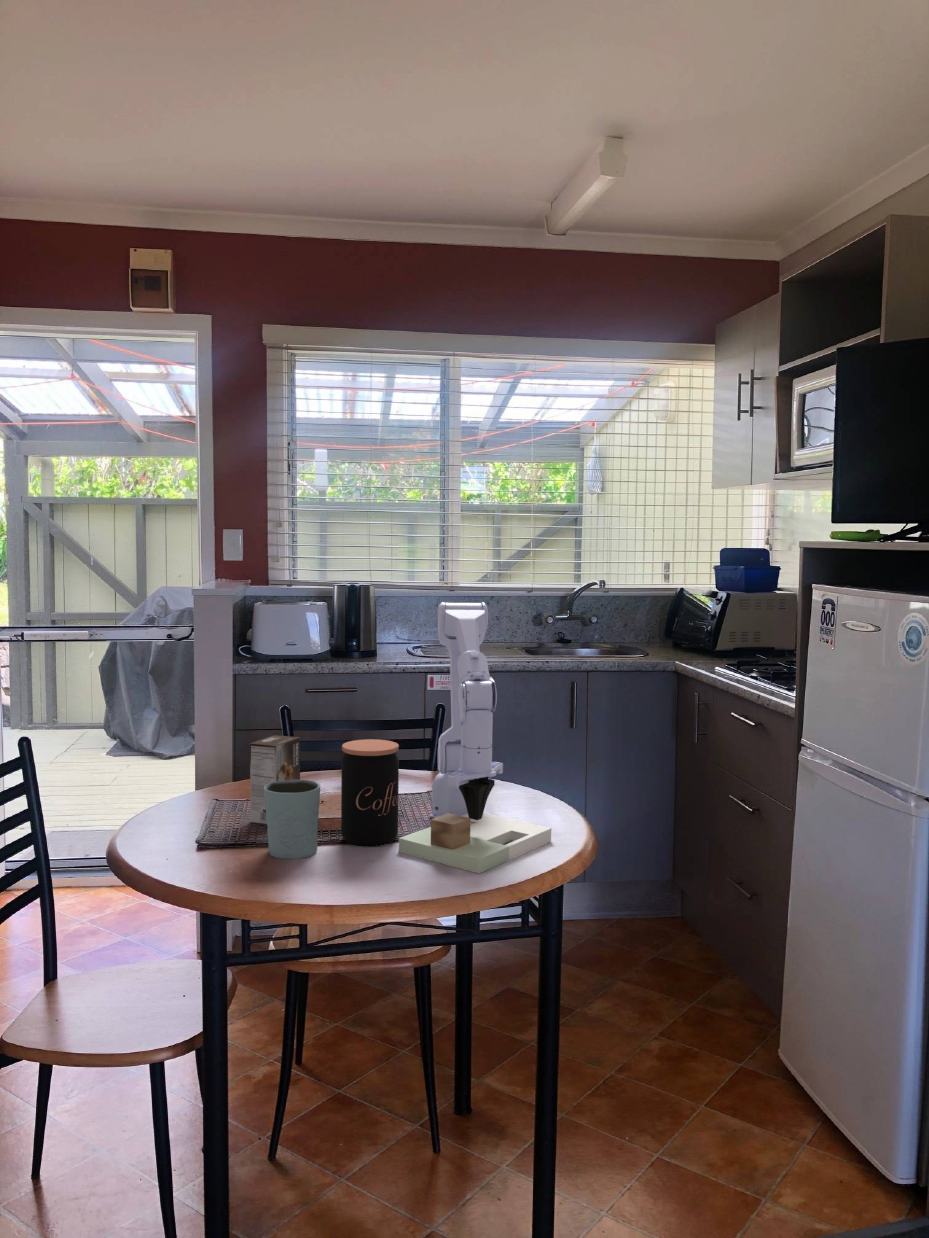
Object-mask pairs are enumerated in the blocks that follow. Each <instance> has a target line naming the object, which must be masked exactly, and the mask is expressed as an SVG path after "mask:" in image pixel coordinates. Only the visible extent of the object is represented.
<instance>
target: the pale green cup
mask: <svg viewBox="0 0 929 1238" xmlns="http://www.w3.org/2000/svg"><path fill="white" fill-rule="evenodd" d="M264 799H265V805H266V819H267V824H266V826H267V840H268V843H267V844H268V851H269V852H268V853H269V854H270V856H271V857H273V858H276V859H277V858H278V859H285V860H286V859H287V860H298V859H304V858H308V857H311V856H313V855H315V854H316V852H317V851H318V845H319V844H318V839H319V836H318V831H319V815H320V814H319V813H320V801H321V784H320V783H318V782H317V781H314V780H307V779H300V780H283V781H277V782H273V783H269V784H267V785H265V786H264Z"/></svg>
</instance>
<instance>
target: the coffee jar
mask: <svg viewBox="0 0 929 1238" xmlns="http://www.w3.org/2000/svg"><path fill="white" fill-rule="evenodd" d="M399 747H400V745H399V743H397V742H394V741H393V740H392V741H391V740H386V739H373V738H370V739H367V738H366V739H357V740H351V741H347V742H344V743H342V745H341V750H342V752H343V753H344V754H343V756H342V758H341V778H340V779H341V784H340V785H341V786H340V787H341V788H340V791H341V792H340V793H341V795H340V796H341V799H340V800H341V801H340V802H341V803H340V804H341V808H340V809H341V810H340V811H341V812H340V815H341V817H340V818H341V819H340V821H341V822H340V823H341V825H340V834H341V837H342V838H343V840H344V841H345V843H347V844H348V845H350V846H351V845H352V846H355V847H361V848H373V847H374V848H376V847H382V846H386V845H389V844H392V843H393V842H394V841H395V839H396V838H397V837H398V833H399V783H400V782H399V781H400V780H399V776H400V775H399V773H400V771H399V768H400V767H399V765H400V764H399V763H400V759H399V756H398V755H397V753H398V751H399Z"/></svg>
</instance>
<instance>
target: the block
mask: <svg viewBox="0 0 929 1238" xmlns="http://www.w3.org/2000/svg"><path fill="white" fill-rule="evenodd" d="M470 820H471V818H467V817H463V816H458V815H454V814H450V813H448V814H445V815H442V816H439V817H436V818H431V819H430V827H431V844H432V845H436V846H439V847H443V848H447V849H451V850H454V849H457V848H459V847H462V846H464V845H467V844H469V843H470Z"/></svg>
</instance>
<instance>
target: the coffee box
mask: <svg viewBox="0 0 929 1238" xmlns="http://www.w3.org/2000/svg"><path fill="white" fill-rule="evenodd" d="M300 741H301V737H300V736H288V735H287V736H286V735H276V734H275V735H271V736H268V737H265V738H264V737H263V739H259V740H257V741H253V742H251V743H249V758H250V759H249V770H250V772H249V773H250V775H249V776H250V777H249V780H250V781H249V782H250V783H249V786H250V789H249V790H250V793H249V794H250V805H249V806H250V822H251V823H256V824H263V825H267V819H266V805H265V799H264V786H265V785H267V784H269V783H273V782H277V781H283V780H301V742H300Z"/></svg>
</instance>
